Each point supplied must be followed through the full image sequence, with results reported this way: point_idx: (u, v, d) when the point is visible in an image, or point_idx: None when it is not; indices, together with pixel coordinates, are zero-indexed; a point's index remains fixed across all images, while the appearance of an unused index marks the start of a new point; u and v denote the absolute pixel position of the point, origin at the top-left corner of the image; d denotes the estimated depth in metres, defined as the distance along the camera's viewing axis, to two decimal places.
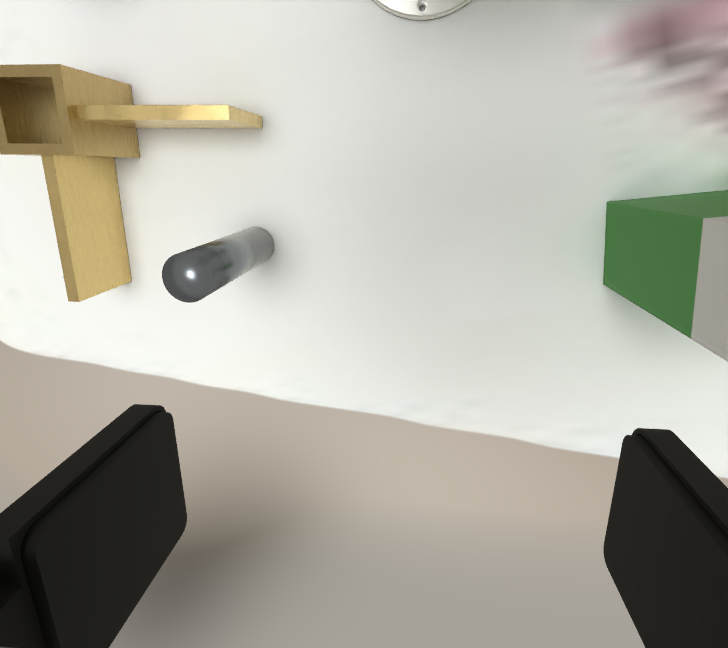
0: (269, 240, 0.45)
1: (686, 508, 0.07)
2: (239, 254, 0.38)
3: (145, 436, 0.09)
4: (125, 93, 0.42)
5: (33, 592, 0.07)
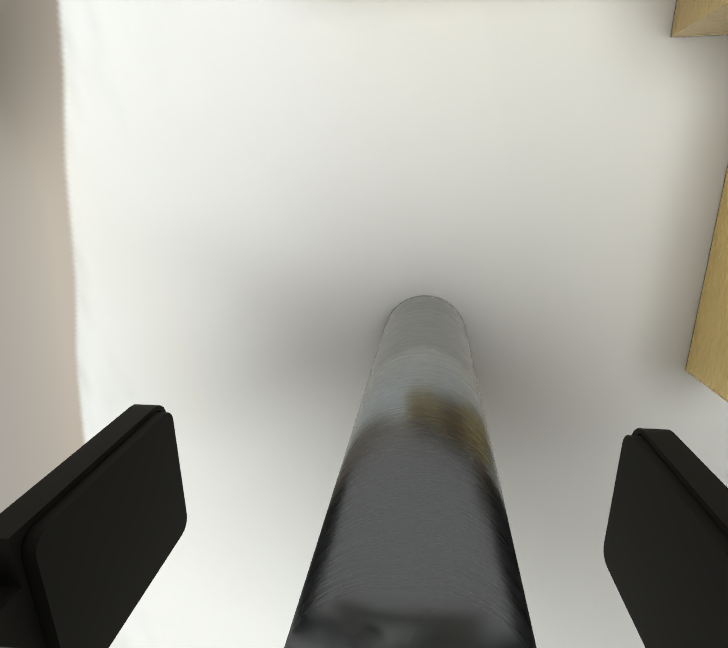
0: None
1: (686, 508, 0.07)
2: None
3: (145, 436, 0.09)
4: None
5: (33, 592, 0.07)
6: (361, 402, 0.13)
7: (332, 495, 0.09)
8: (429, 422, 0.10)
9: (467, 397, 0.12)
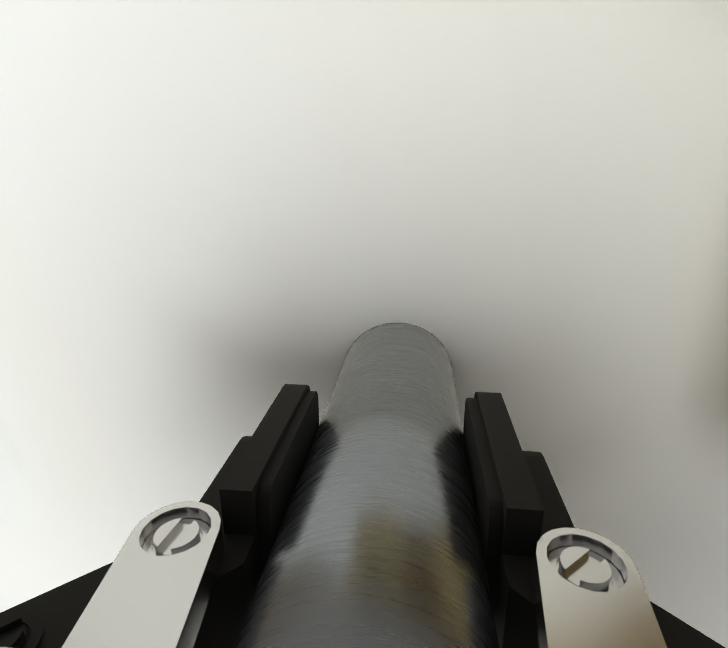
0: None
1: (479, 450, 0.08)
2: None
3: (308, 411, 0.10)
4: None
5: (261, 541, 0.07)
6: None
7: None
8: None
9: (456, 560, 0.06)
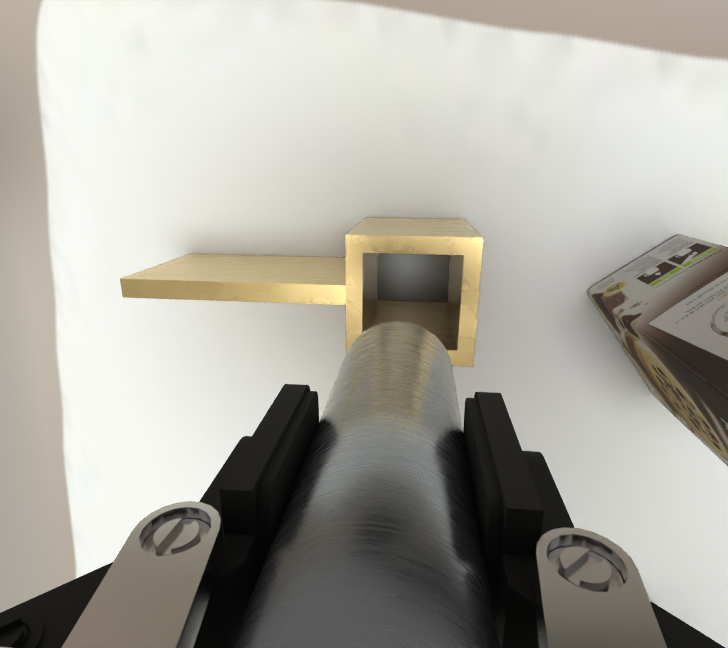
0: None
1: (479, 450, 0.08)
2: None
3: (308, 411, 0.10)
4: None
5: (261, 541, 0.07)
6: None
7: None
8: None
9: (456, 557, 0.06)
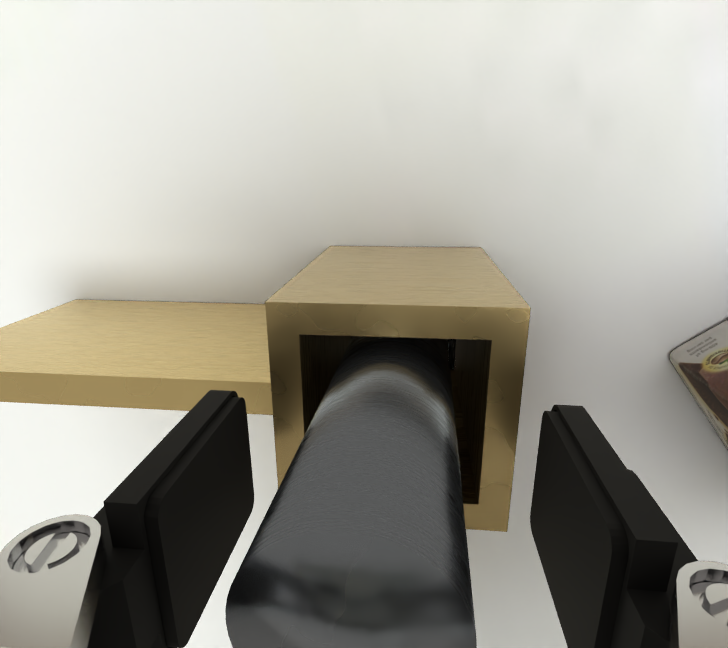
0: None
1: (577, 470, 0.08)
2: None
3: (227, 418, 0.10)
4: None
5: (152, 555, 0.07)
6: None
7: None
8: (388, 390, 0.10)
9: (432, 371, 0.12)
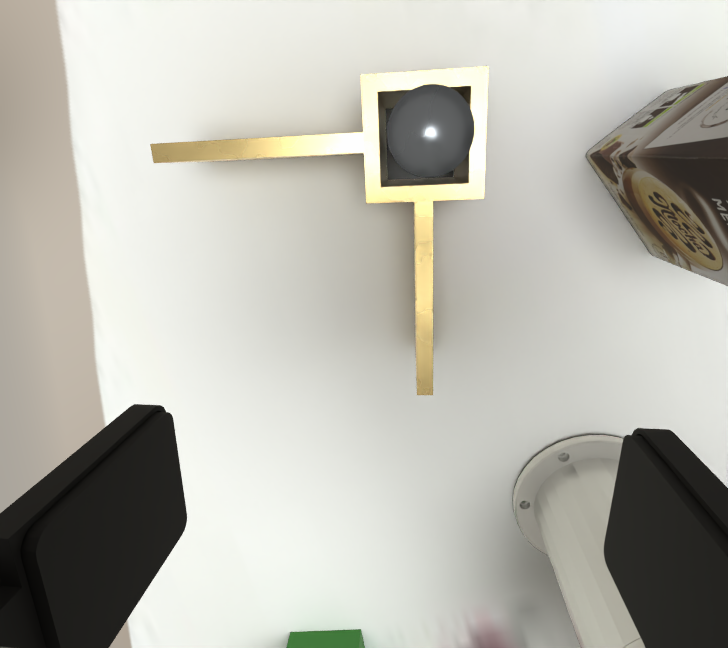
0: None
1: (686, 508, 0.07)
2: None
3: (145, 436, 0.09)
4: None
5: (33, 592, 0.07)
6: None
7: None
8: None
9: None
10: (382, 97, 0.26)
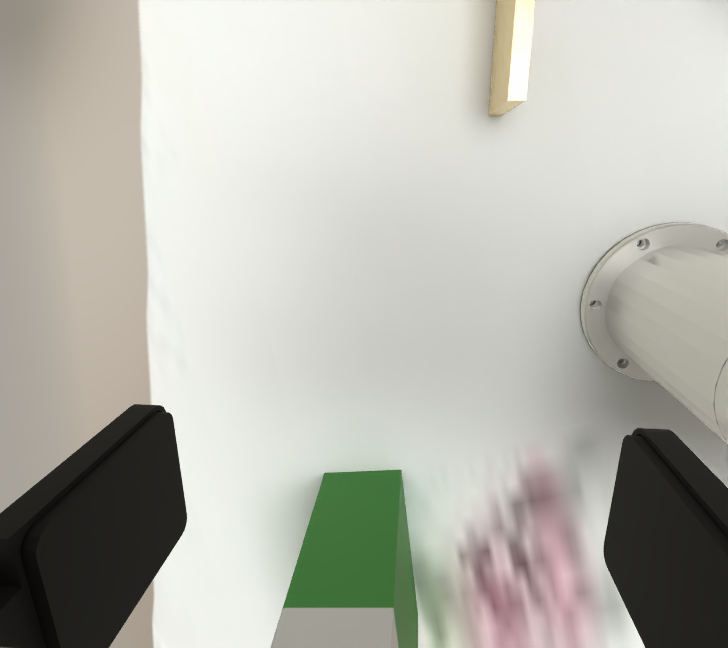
0: None
1: (686, 508, 0.07)
2: None
3: (145, 436, 0.09)
4: None
5: (33, 592, 0.07)
6: None
7: None
8: None
9: None
10: None
